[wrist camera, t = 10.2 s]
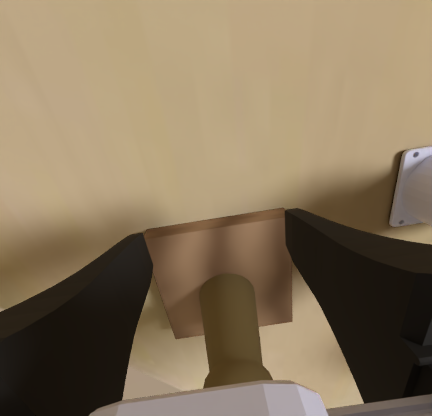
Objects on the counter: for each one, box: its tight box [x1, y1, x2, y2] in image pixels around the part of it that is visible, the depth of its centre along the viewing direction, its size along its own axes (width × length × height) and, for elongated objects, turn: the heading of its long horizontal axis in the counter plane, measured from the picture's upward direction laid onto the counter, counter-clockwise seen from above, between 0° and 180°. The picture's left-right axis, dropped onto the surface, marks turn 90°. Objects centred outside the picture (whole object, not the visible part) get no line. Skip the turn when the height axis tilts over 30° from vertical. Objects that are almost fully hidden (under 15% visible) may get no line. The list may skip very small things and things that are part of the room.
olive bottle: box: [199, 274, 273, 389], centre depth 19 cm, size 6×6×11 cm
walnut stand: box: [144, 208, 292, 339], centre depth 24 cm, size 14×14×2 cm
